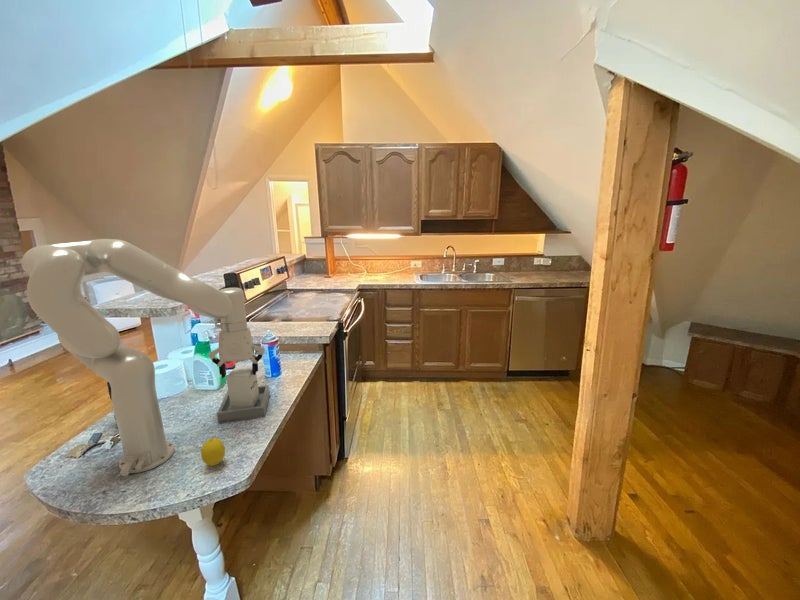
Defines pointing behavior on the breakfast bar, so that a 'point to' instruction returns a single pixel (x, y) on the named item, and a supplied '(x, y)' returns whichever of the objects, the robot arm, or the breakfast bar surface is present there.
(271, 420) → the breakfast bar surface
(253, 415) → the tray
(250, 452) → the breakfast bar surface
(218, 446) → the lemon
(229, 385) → the supplement box
